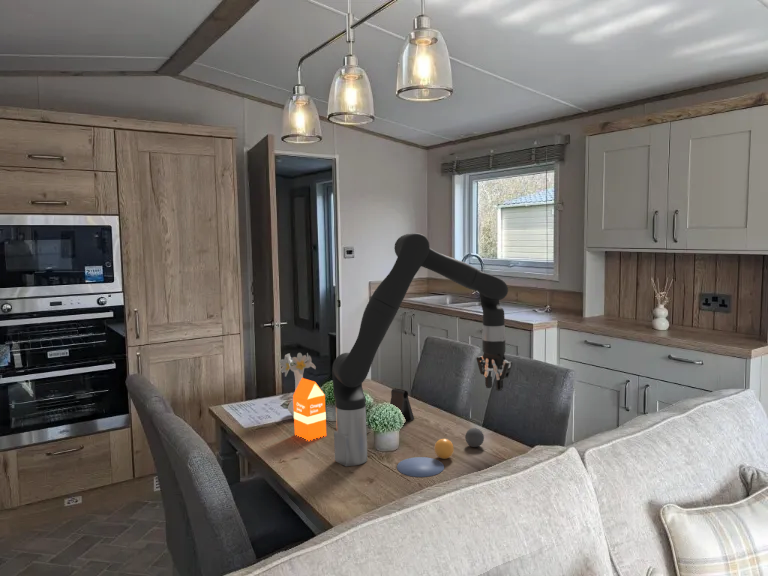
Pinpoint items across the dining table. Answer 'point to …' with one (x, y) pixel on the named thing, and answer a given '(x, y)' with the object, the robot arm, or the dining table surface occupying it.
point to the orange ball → (444, 448)
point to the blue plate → (420, 467)
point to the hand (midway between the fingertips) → (494, 388)
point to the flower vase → (295, 370)
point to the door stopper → (402, 403)
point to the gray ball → (474, 437)
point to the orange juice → (309, 410)
